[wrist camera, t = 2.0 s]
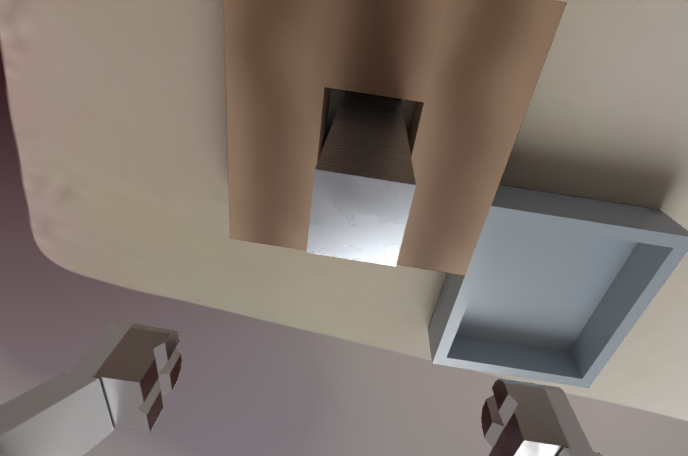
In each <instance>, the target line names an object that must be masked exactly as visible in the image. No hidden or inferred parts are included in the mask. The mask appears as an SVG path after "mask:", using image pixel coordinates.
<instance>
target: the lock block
mask: <svg viewBox="0 0 688 456" xmlns="http://www.w3.org/2000/svg"><path fill="white" fill-rule="evenodd" d="M566 3H567V2H562V1H555V0H223V5H224V41H225V77H226V113H227V149H228V184H229V220H230V239H236V240H242V241H248V242H255V243H261V244H268V245H274V246H280V247H287V248H293V249H299V250H306V251H307V244H308V233H309V223H310V213H311V203H312V192H313V182H314V172H315V167H316V165H317V162H318V160H319V157H320V155H321V152H322V149H323V147H324V144H325V136H326V126H327V117H328V108H329V99H330V89H331V88H334V89H340V90H347V91H353V92H359V93H366V94H372V95H379V96H385V97H392V98H398V99H405V100H411V101H416V103H415V108H414V112H413V117H412V121H411V126H410V130H409V135H408V142H409V148H410V154H411V159H412V165H413V171H414V176H415V182H416V187H415V191H414V195H413V199H412V203H411V207H410V211H409V215H408V219H407V223H406V227H405V231H404V235H403V239H402V243H401V247H400V251H399V255H398V259H397V263H396V265H402V266H408V267H414V268H421V269H427V270H433V271H440V272H446V273H453V274H459V275H465V274H466V272H467V269H468V266H469V264H470V261H471V258H472V256H473V253H474V250H475V248H476V245H477V242H478V240H479V237H480V234H481V231H482V229H483V226H484V223H485V221H486V218H487V215H488V213H489V210H490V207H491V205H492V202H493V199H494V197H495V194H496V191H497V189H498V186H499V183H500V180H501V178H502V175H503V172H504V170H505V167H506V164H507V162H508V159H509V156H510V154H511V151H512V148H513V146H514V143H515V140H516V138H517V135H518V132H519V129H520V127H521V124H522V121H523V119H524V116H525V113H526V111H527V108H528V105H529V103H530V100H531V97H532V95H533V92H534V89H535V87H536V84H537V81H538V78H539V76H540V73H541V70H542V68H543V65H544V62H545V60H546V57H547V54H548V52H549V49H550V46H551V44H552V41H553V38H554V36H555V33H556V30H557V27H558V25H559V22H560V19H561V17H562V14H563V11H564V9H565V6H566Z"/></svg>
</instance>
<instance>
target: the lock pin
mask: <svg viewBox="0 0 688 456" xmlns="http://www.w3.org/2000/svg"><path fill="white" fill-rule="evenodd" d="M415 187H416V182H415V176H414V171H413V165H412V159H411V154H410V148H409V142H408V137H407V131H406V125H405V120H404V114H403V108H402V103H401V101H397V100H391V99H384V98H378V97H371V96H365V95H358V94H352V93H344V95H343V98H342V100H341V103H340V106H339V108H338V111H337V113H336V116H335V118H334V121H333V124H332V126H331V129H330V131H329V134H328V136H327V139H326V142H325V144H324V147H323V149H322V152H321V155H320V157H319V160H318V162H317V165H316V167H315V172H314V182H313V192H312V203H311V213H310V223H309V233H308V244H307V253H313V254H319V255H326V256H332V257H338V258H345V259H351V260H358V261H364V262H370V263H377V264H383V265H390V266H396V263H397V259H398V255H399V251H400V247H401V243H402V239H403V235H404V231H405V227H406V223H407V219H408V215H409V211H410V207H411V203H412V199H413V195H414V191H415Z"/></svg>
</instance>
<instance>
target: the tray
mask: <svg viewBox="0 0 688 456" xmlns="http://www.w3.org/2000/svg"><path fill="white" fill-rule="evenodd" d="M687 251H688V231H687V230H686V229H685V228H683V227H682V226H681V225H679V224H678V223H677V222H675V221H674V220H673V219H672V218H670V217H669V216H668V215H666V214H665V213H664V212H663V211H661V210H657V209H651V208H645V207H638V206H632V205H625V204H619V203H612V202H606V201H600V200H593V199H587V198H580V197H574V196H567V195H561V194H554V193H548V192H542V191H535V190H529V189H522V188H516V187H509V186H503V185H499V186H498V189H497V191H496V194H495V197H494V199H493V202H492V205H491V207H490V210H489V213H488V215H487V218H486V221H485V223H484V226H483V229H482V231H481V234H480V237H479V240H478V242H477V245H476V248H475V250H474V253H473V256H472V258H471V261H470V264H469V266H468V269H467V272H466V274H465V275H459V274H453V273H447V276H446V278H445V281H444V284H443V287H442V290H441V293H440V296H439V299H438V302H437V305H436V308H435V311H434V314H433V317H432V320H431V323H430V325H429V328H428V335H429V342H430V350H431V357H432V363H434V364H440V365H446V366H452V367H459V368H465V369H471V370H478V371H484V372H490V373H497V374H503V375H509V376H516V377H522V378H528V379H534V380H541V381H547V382H553V383H560V384H566V385H572V386H579V387H585V388H589V387H590V385H591V384H592V383H593V381H594V380H595V378H596V377H597V376H598V374H599V373H600V371H601V370H602V369H603V367H604V366H605V365H606V363H607V362H608V360H609V359H610V358H611V356H612V355H613V353H614V352H615V351H616V349H617V348H618V347H619V345H620V344H621V342H622V341H623V340H624V338H625V337H626V335H627V334H628V333H629V331H630V330H631V329H632V327H633V326H634V324H635V323H636V322H637V320H638V319H639V318H640V316H641V315H642V313H643V312H644V311H645V309H646V308H647V306H648V305H649V304H650V302H651V301H652V300H653V298H654V297H655V295H656V294H657V293H658V291H659V290H660V288H661V287H662V286H663V284H664V283H665V282H666V280H667V279H668V277H669V276H670V275H671V273H672V272H673V270H674V269H675V268H676V266H677V265H678V264H679V262H680V261H681V259H682V258H683V257H684V255H685V254H686V252H687Z"/></svg>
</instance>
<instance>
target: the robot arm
mask: <svg viewBox="0 0 688 456" xmlns="http://www.w3.org/2000/svg"><path fill="white" fill-rule="evenodd" d="M178 343H179V334H178V331H174V330H169V329H163V328H158V327H152V326H146V325H141V324H134V323H127V322H122V321H115V322H113V323H112V324H110V325H109V326H108V327H107V329H106V330H105V331H104V332H103V333H102V335H101V336H100V337H99V338H98V340H97V341H96V342H95V343H94V344H93V346H92V347H91V348H90V349H89V350H88V351H87V353H86V354H85V355H84V356H83V357H82V359H81V360H80V361H79V362H78V363H77V365H76V366H75V367H74V368H73V369H72V371H71V372H70V373H61V374H59V375H58V376H56V377H54V378H52V379H50V380H48V381H46V382H44V383H42V384H41V385H38V386H37V387H35V388H33V389H31V390H29V391H27V392H25V393H23V394H21V395H20V396H18V397H16V398H14V399H12V400H10V401H8V402H6V403H4V404H3V405H0V456H83V455H84V454H85V453H86V452H88V451H89V450H90V449H91V448H93V447H94V446H95V445H96V444H98V443H99V442H100V441H101V440H103V439H104V438H105V437H106V436H108V435H109V434H110V433H111V432H113V431H114V429H113V428H116V429H124V430H132V431H141V432H151V430H152V428H153V426H154V424H155V422H156V420H157V418H158V417H159V415H160V413H161V411H162V409H163V401H162V397H164V396H165V395H167V394H168V393H170V392H171V391H172V390H173V388H174V386H175V384H176V382H177V380H178V376H179V373H180V370H181V362H182V358H181V353H180V352H179V351H178V350H177V348H176V346H177V345H178ZM492 390H493V393H494V395H493V396H491V397H489V398H488V399H486V401H485V403H484V405H483V408H482V417H481V420H482V421H481V422H482V429H483V434H484V438H485V439H486V440H487V441H488V443H489V444H490V445H491V446H492V447H493V448H492V450H491V452H490V454H489V456H602V455H601V454H600V453H596V452H593V450H592V448H591V446H590V444H589V442H588V440H587V438H586V436H585V434H584V432H583V430H582V428H581V426H580V424H579V422H578V420H577V417H576V415H575V414H574V411H573V409H572V407H571V405H570V403H569V401H568V399H567V397H566V395H565V393H564V391H563V390H562V389H561V388H559V387H553V386H546V385H538V384H534V383H527V382H520V381H512V380H505V379H498V380H497V381H495V383H494V385H493V387H492Z"/></svg>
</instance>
